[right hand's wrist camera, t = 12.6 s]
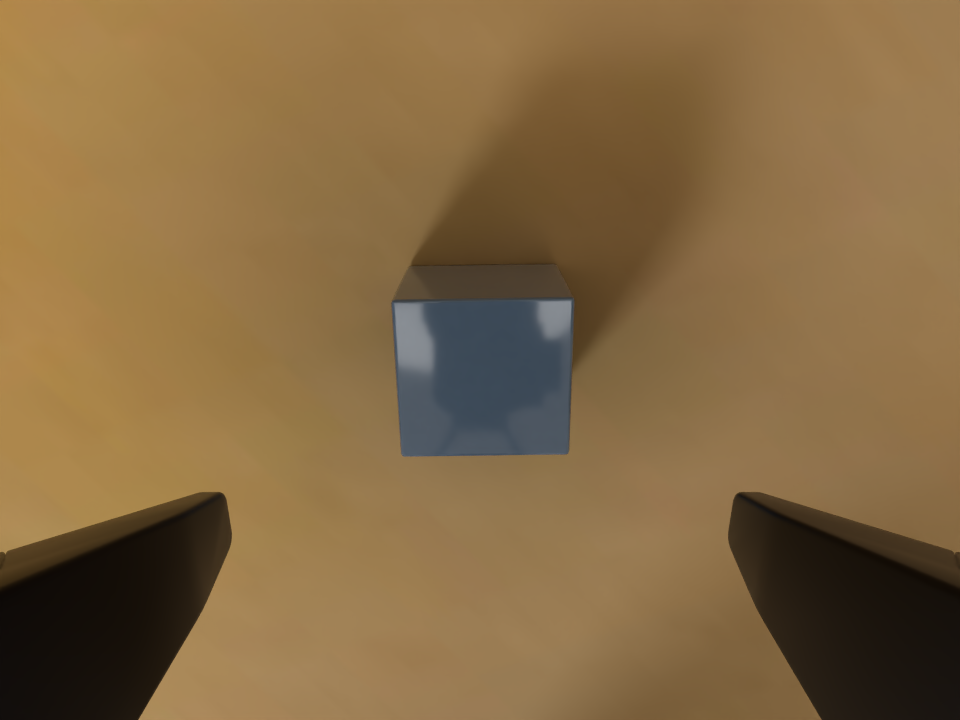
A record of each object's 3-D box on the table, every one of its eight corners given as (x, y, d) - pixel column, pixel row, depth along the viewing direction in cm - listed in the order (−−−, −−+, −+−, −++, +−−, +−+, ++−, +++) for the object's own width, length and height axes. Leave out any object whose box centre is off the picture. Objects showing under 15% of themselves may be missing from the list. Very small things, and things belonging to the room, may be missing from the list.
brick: (414, 397, 22) (400, 457, 18) (407, 265, 20) (390, 300, 16) (553, 395, 22) (569, 455, 18) (557, 263, 20) (575, 297, 16)
